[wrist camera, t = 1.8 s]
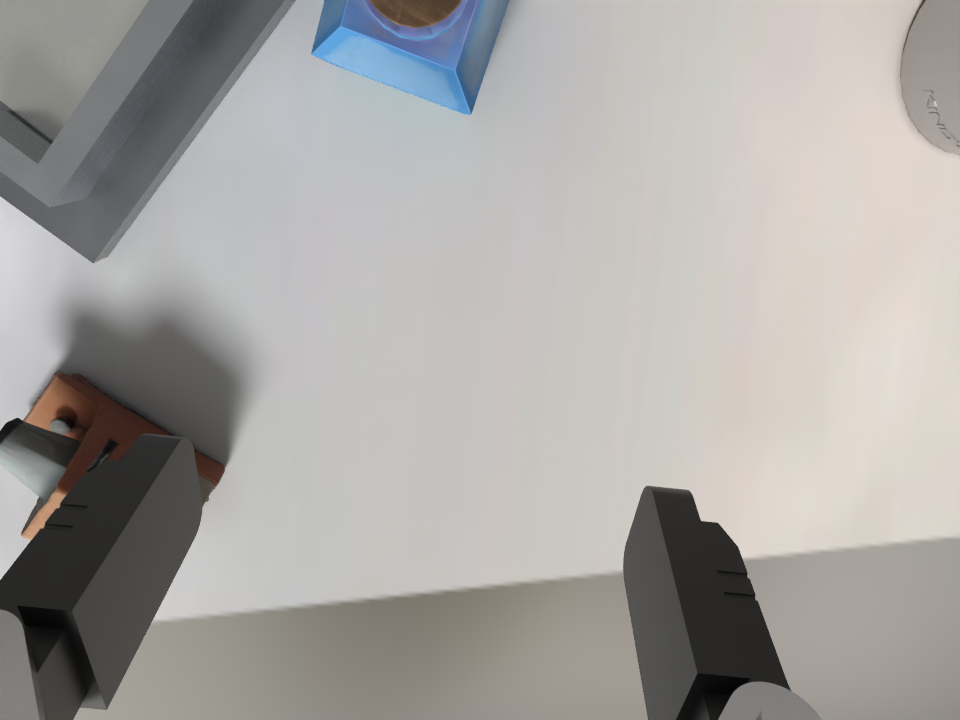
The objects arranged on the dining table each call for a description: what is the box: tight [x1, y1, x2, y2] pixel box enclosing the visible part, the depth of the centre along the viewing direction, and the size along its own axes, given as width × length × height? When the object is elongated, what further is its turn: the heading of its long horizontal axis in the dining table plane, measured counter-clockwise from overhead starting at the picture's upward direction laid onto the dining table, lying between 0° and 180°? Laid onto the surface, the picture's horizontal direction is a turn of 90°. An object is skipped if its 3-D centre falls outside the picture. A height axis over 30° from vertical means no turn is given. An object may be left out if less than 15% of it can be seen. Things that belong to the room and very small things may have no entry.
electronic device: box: [0, 371, 225, 540], centre depth 33 cm, size 4×10×8 cm, turn 49°
